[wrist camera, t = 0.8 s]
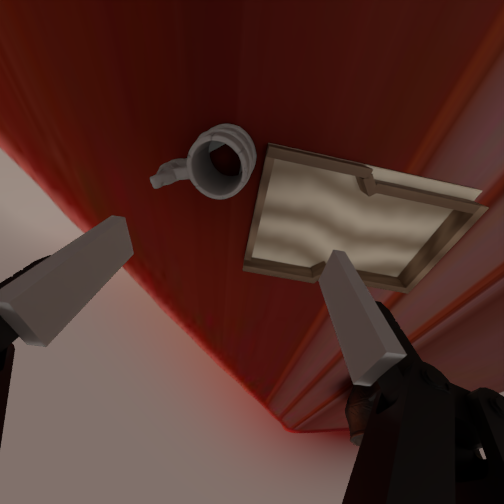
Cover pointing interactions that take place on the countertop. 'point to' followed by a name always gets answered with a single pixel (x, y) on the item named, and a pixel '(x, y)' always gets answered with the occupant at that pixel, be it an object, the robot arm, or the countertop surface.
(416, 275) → the rimmed tray
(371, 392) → the bowl
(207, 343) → the countertop surface
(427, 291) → the countertop surface
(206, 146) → the mug
